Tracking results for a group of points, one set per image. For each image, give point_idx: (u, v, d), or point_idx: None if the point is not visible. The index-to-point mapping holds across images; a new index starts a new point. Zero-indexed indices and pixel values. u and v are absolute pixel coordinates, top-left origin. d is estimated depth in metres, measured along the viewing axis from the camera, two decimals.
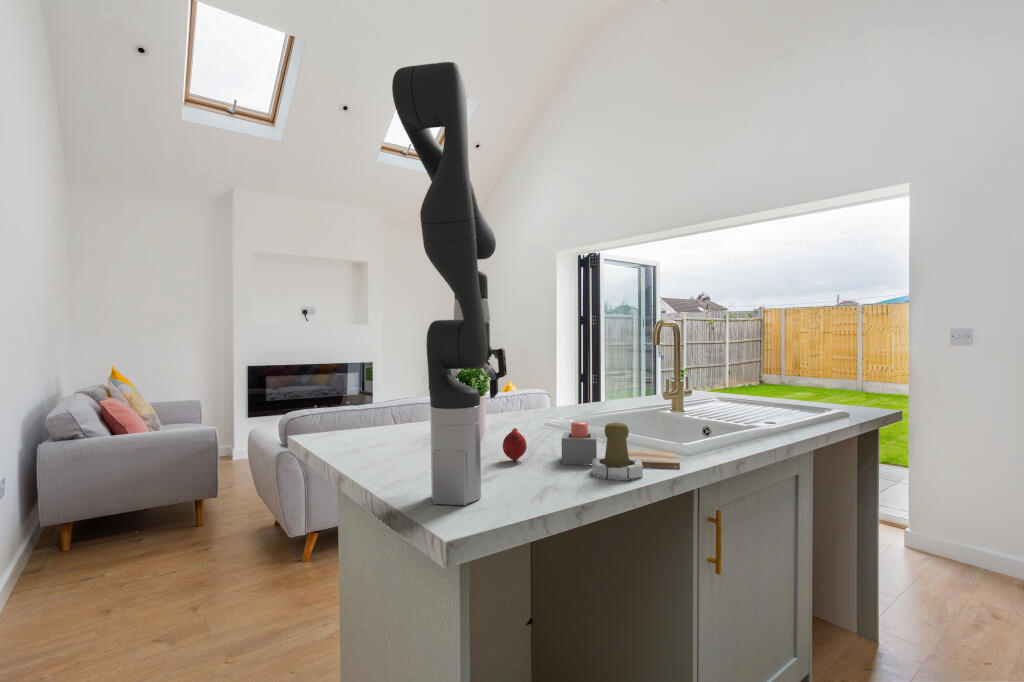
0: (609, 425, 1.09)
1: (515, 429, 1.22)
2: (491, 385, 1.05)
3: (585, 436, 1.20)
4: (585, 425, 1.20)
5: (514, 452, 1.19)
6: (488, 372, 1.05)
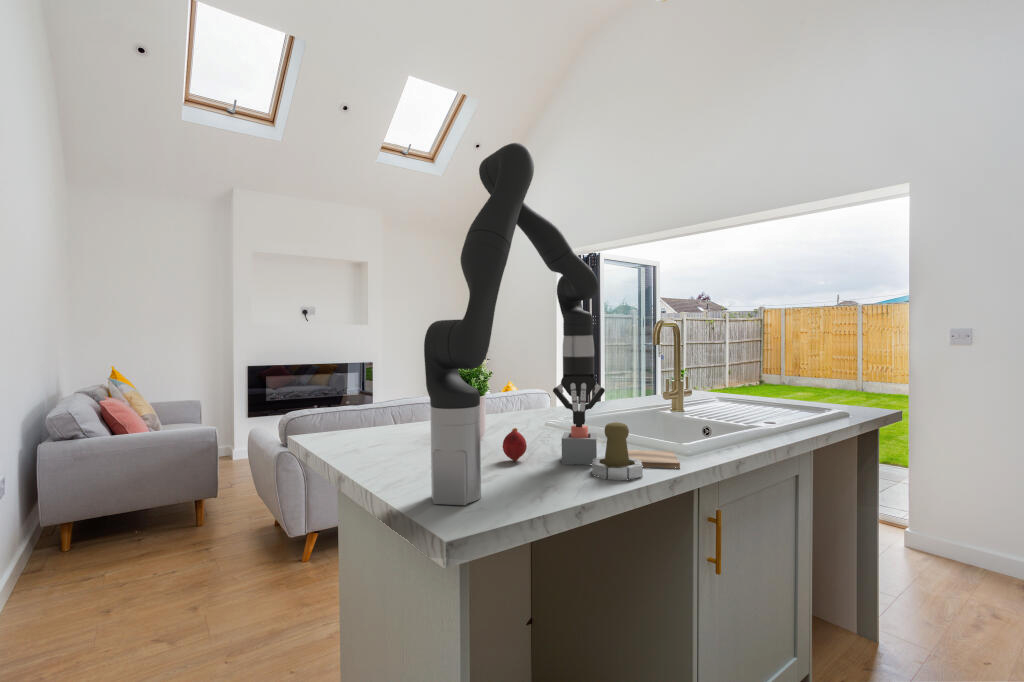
0: (609, 425, 1.09)
1: (515, 429, 1.22)
2: (580, 416, 1.20)
3: None
4: (585, 428, 1.20)
5: (514, 452, 1.19)
6: (581, 403, 1.20)
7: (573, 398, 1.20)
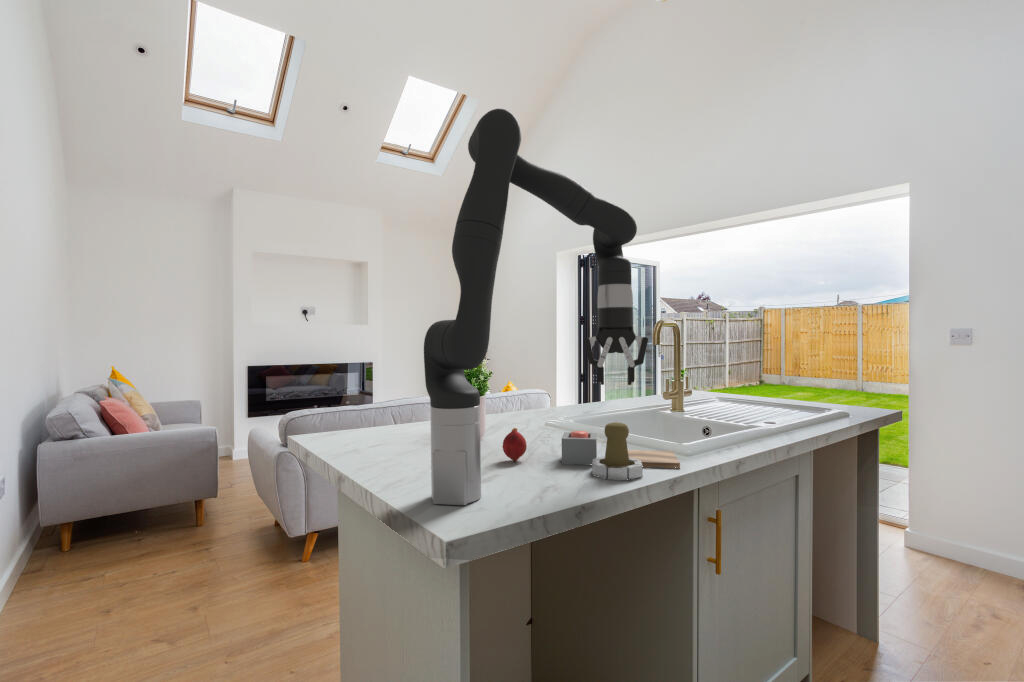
0: (609, 425, 1.09)
1: (515, 429, 1.22)
2: (629, 372, 1.08)
3: None
4: (585, 434, 1.20)
5: (514, 452, 1.19)
6: (628, 358, 1.08)
7: (603, 353, 1.08)
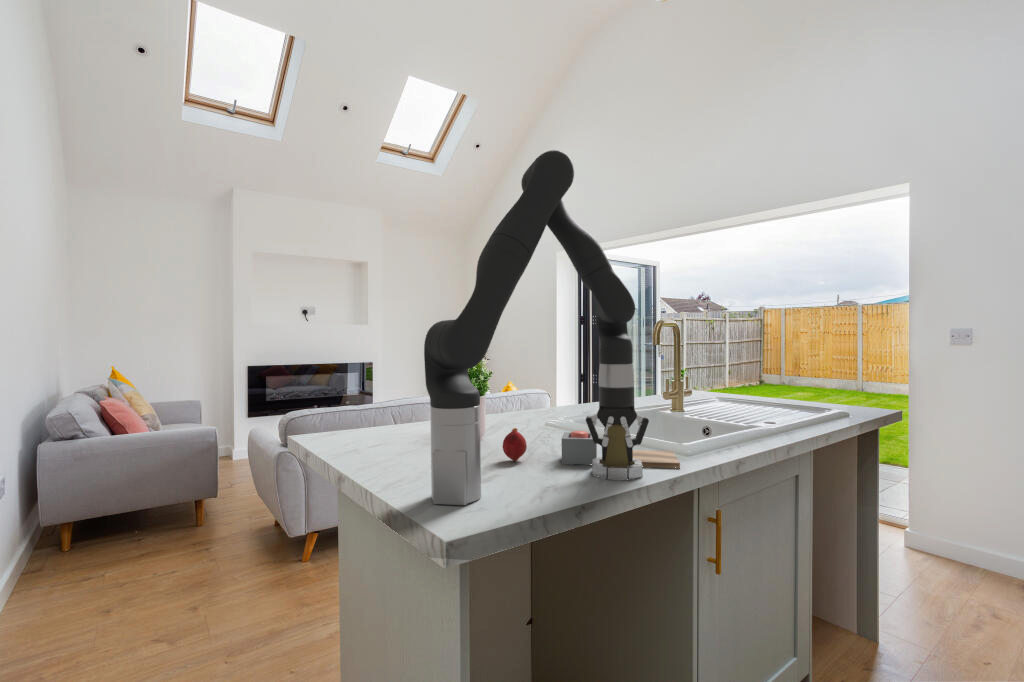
0: None
1: (515, 429, 1.22)
2: (627, 452, 1.08)
3: None
4: (585, 434, 1.20)
5: (514, 452, 1.19)
6: (627, 438, 1.08)
7: (606, 432, 1.08)
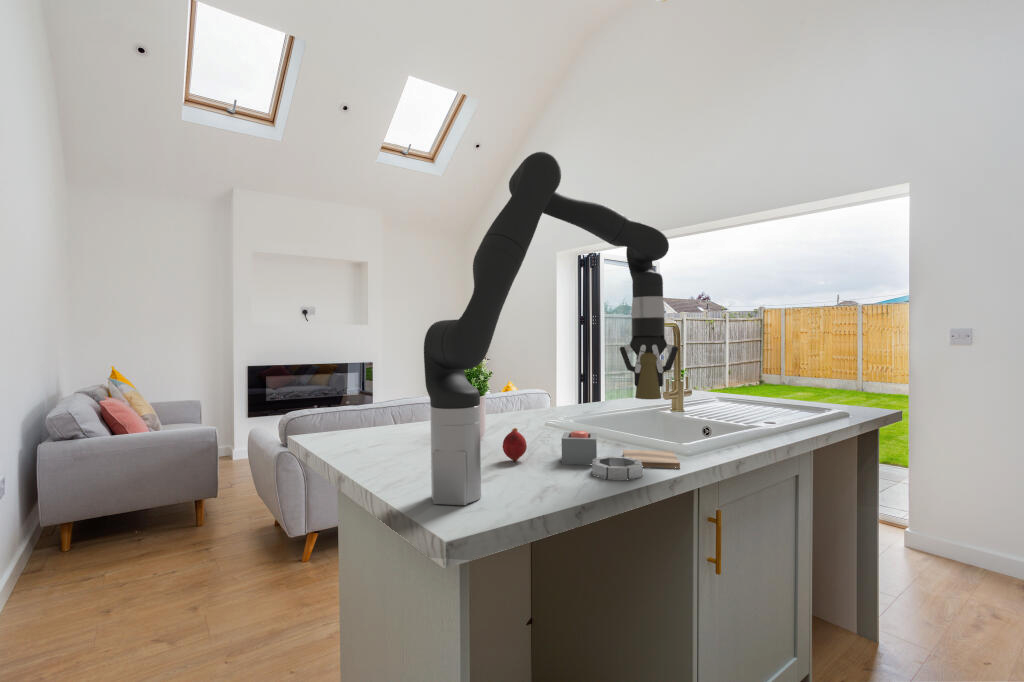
0: None
1: (515, 429, 1.22)
2: (658, 377, 1.18)
3: None
4: (585, 434, 1.20)
5: (514, 452, 1.19)
6: (658, 364, 1.18)
7: (639, 359, 1.19)
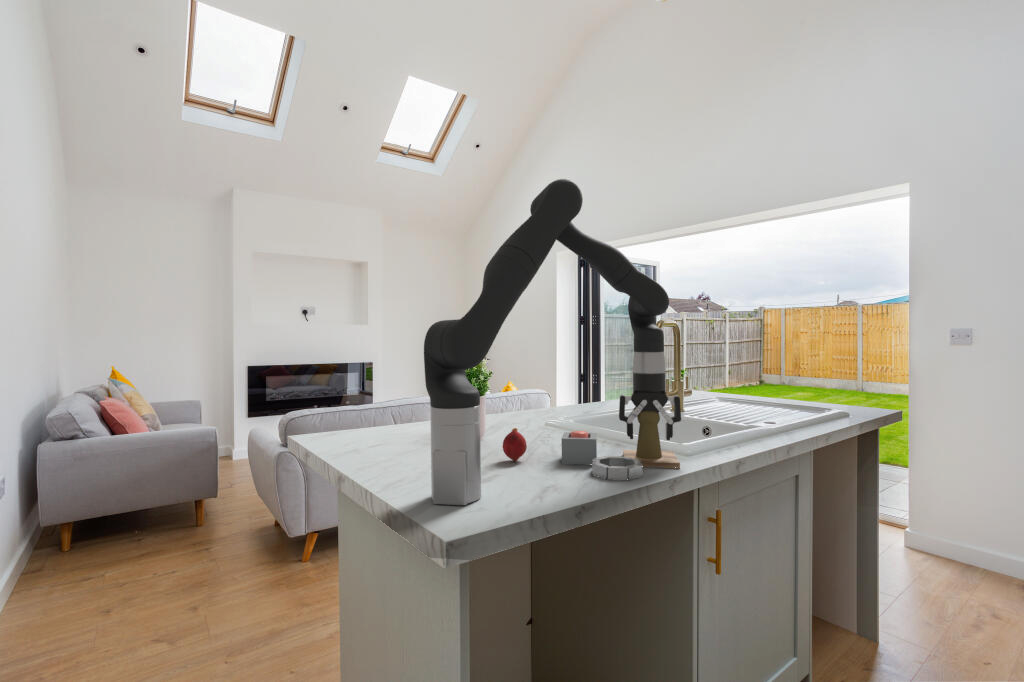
0: (642, 412, 1.19)
1: (515, 429, 1.22)
2: (668, 429, 1.18)
3: None
4: (585, 434, 1.20)
5: (514, 452, 1.19)
6: (665, 417, 1.18)
7: (635, 412, 1.19)
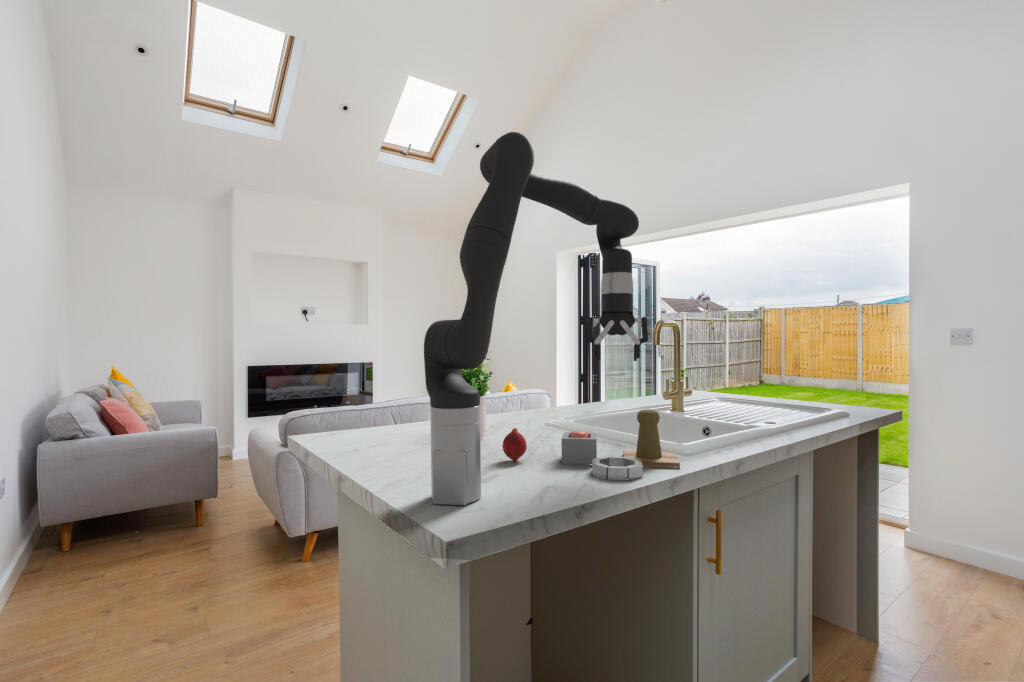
0: (641, 412, 1.19)
1: (515, 429, 1.22)
2: (635, 349, 1.19)
3: None
4: (585, 434, 1.20)
5: (514, 452, 1.19)
6: (633, 337, 1.19)
7: (602, 333, 1.20)
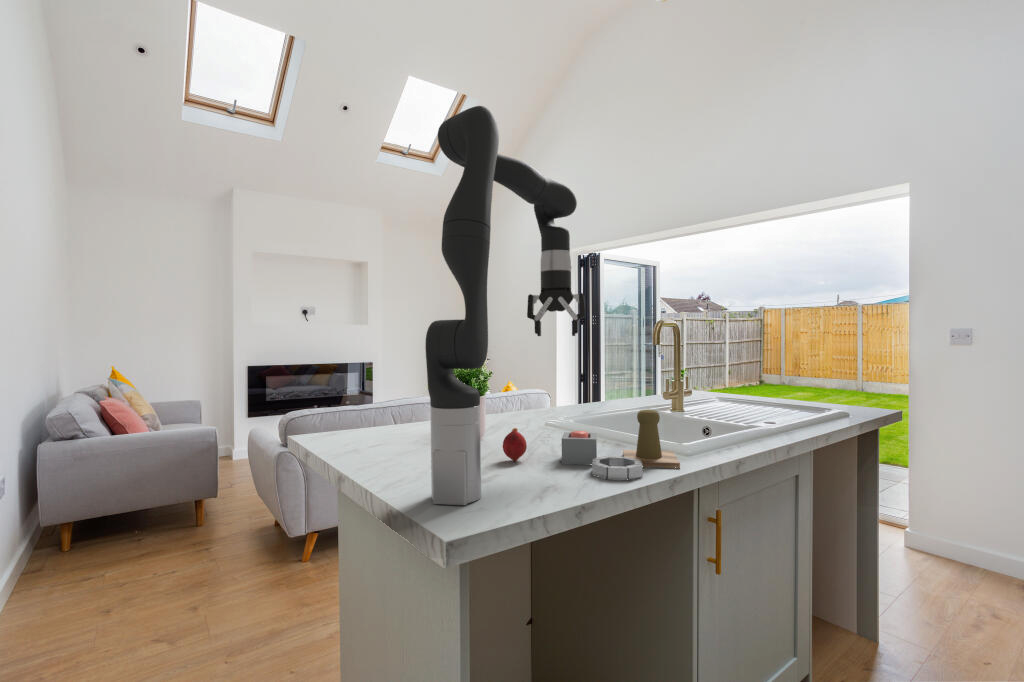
0: (642, 412, 1.19)
1: (515, 429, 1.22)
2: (573, 324, 1.23)
3: None
4: (585, 434, 1.20)
5: (514, 452, 1.19)
6: (570, 313, 1.23)
7: (542, 309, 1.24)
